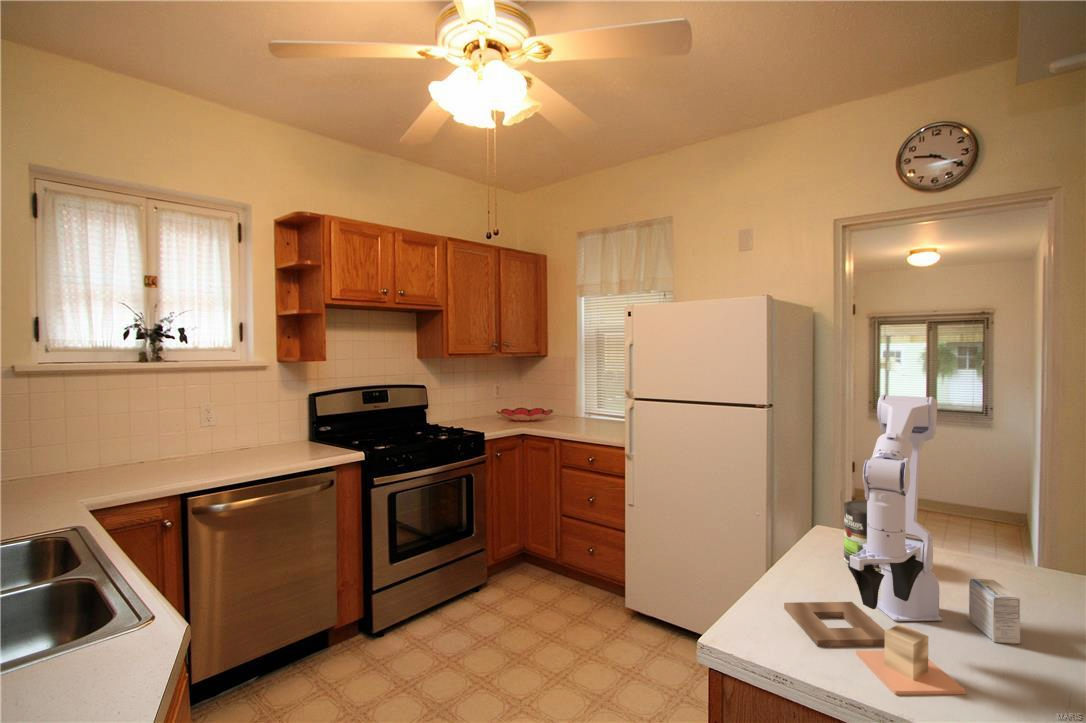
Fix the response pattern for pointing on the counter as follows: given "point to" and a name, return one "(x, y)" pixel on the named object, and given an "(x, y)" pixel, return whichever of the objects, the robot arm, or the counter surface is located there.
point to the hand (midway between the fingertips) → (885, 602)
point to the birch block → (906, 651)
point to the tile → (902, 685)
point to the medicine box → (994, 610)
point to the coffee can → (855, 528)
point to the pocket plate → (821, 635)
